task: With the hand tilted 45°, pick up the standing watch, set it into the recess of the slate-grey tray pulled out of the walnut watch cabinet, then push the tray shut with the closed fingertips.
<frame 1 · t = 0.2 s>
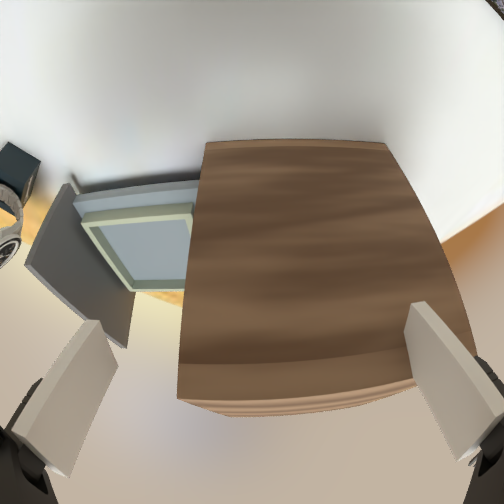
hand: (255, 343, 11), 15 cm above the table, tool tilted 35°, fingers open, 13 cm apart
watch cabinet: (292, 226, 28), on the table
drawer tray: (148, 279, 25), point 5 cm above the table, slide at 12.0 cm
watch: (21, 169, 19), on the table
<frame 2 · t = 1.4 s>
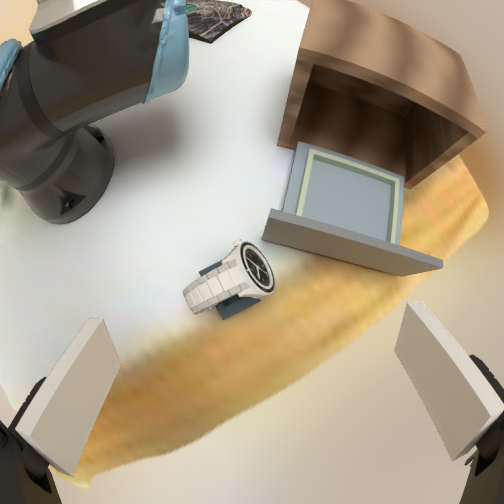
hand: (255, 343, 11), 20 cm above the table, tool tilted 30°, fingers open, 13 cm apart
watch cabinet: (352, 127, 36), on the table
drawer tray: (359, 194, 28), point 5 cm above the table, slide at 12.0 cm
terrain model: (194, 18, 41), on the table
watch: (231, 287, 32), on the table
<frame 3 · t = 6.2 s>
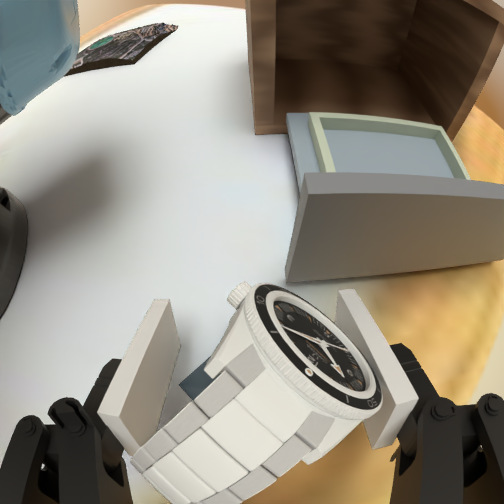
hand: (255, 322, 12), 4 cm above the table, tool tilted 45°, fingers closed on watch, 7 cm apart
watch cabinet: (346, 92, 25), on the table
drawer tray: (419, 147, 14), point 5 cm above the table, slide at 12.0 cm
terrain model: (114, 51, 35), on the table
watch: (255, 389, 15), on the table, touching gripper
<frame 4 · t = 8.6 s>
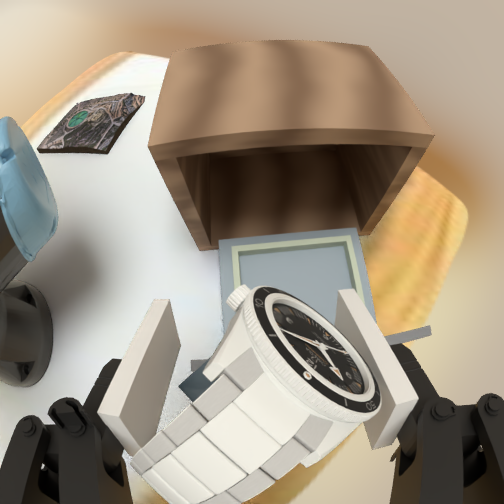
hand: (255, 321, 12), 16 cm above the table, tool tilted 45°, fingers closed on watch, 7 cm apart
watch cabinet: (279, 190, 34), on the table
drawer tray: (303, 284, 24), point 5 cm above the table, slide at 12.0 cm
terrain model: (91, 126, 43), on the table
watch: (254, 391, 15), point 12 cm above the table, touching gripper
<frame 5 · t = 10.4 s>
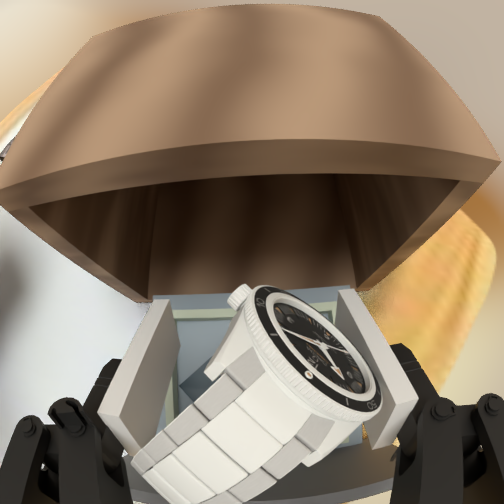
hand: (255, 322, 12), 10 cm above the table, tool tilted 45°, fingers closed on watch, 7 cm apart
watch cabinet: (248, 222, 25), on the table
drawer tray: (253, 385, 15), point 6 cm above the table, slide at 12.0 cm
watch: (255, 390, 15), point 6 cm above the table, touching gripper
when the fingers open (7 cm above the table, at t = 11.3 s): watch moves 1 cm, resting on drawer tray.
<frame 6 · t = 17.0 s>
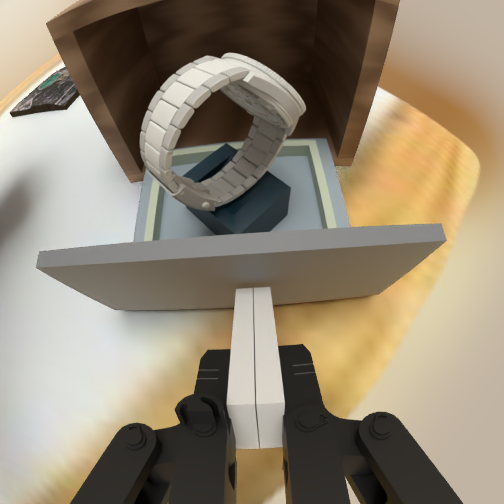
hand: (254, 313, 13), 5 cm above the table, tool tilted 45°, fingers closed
watch cabinet: (237, 118, 26), on the table
drawer tray: (234, 179, 16), point 6 cm above the table, slide at 10.9 cm, touching gripper, watch
terrain model: (62, 88, 36), on the table
watch: (236, 211, 19), point 2 cm above the table, touching drawer tray
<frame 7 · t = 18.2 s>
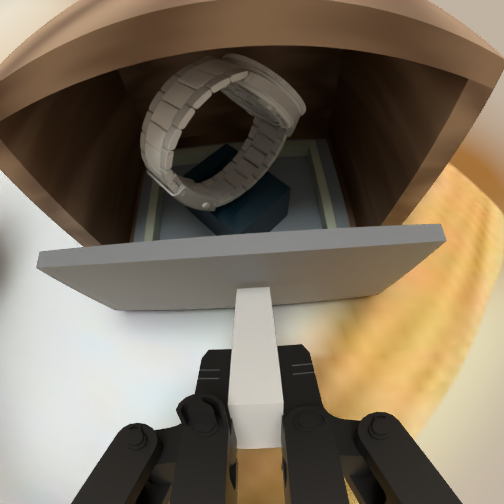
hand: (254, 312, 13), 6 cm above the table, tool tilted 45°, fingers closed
watch cabinet: (239, 184, 23), on the table
drawer tray: (234, 180, 16), point 5 cm above the table, slide at 2.2 cm, touching gripper, watch
watch: (236, 211, 19), point 2 cm above the table, touching drawer tray
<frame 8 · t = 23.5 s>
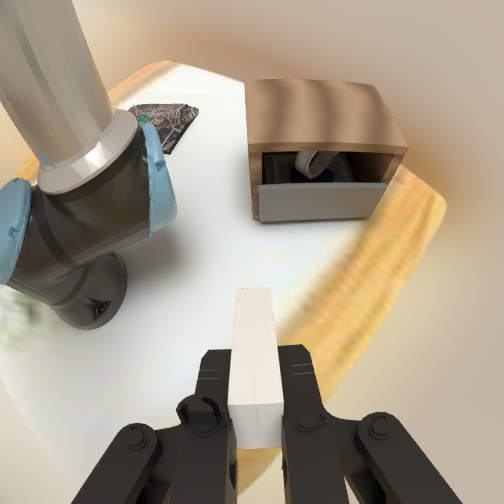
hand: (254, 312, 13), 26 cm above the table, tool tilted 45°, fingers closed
watch cabinet: (308, 182, 48), on the table
drawer tray: (314, 169, 42), point 5 cm above the table, slide at 0.1 cm, touching watch
terrain model: (149, 128, 57), on the table
watch: (310, 183, 45), point 2 cm above the table, touching drawer tray
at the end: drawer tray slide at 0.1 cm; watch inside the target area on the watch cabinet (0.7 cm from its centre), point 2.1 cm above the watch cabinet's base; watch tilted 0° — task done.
